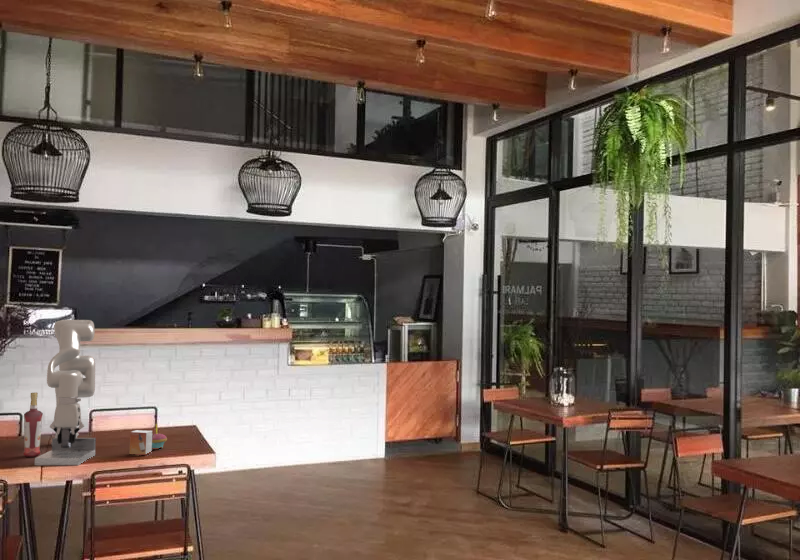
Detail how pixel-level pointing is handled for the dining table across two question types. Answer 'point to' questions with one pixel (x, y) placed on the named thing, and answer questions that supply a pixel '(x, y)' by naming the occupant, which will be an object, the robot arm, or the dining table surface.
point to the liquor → (32, 429)
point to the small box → (140, 442)
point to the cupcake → (158, 439)
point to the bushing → (65, 437)
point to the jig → (68, 453)
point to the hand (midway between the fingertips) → (66, 442)
